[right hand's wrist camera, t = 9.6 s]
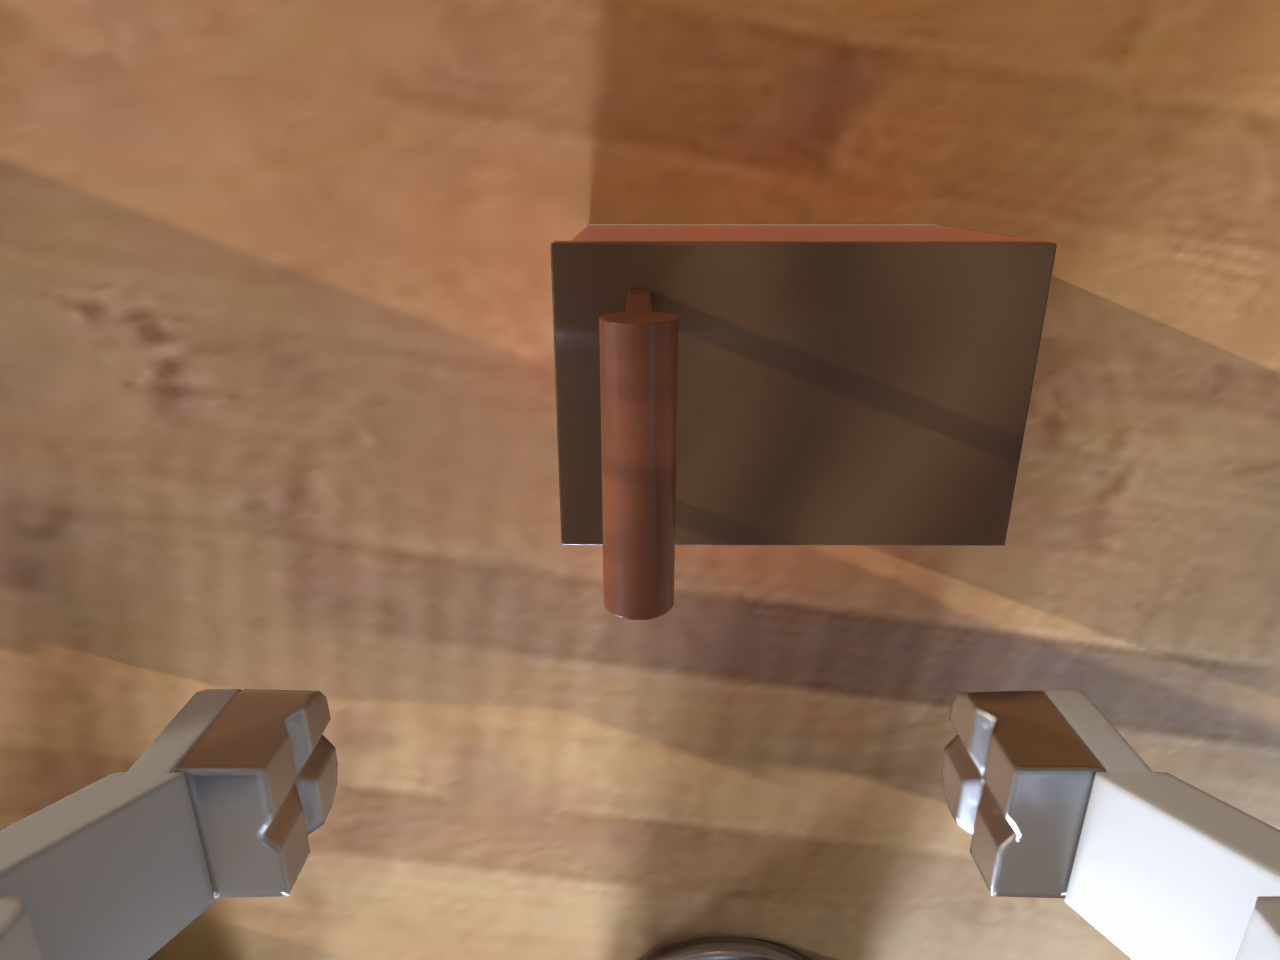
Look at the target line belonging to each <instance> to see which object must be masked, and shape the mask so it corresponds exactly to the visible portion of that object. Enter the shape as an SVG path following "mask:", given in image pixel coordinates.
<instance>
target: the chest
mask: <svg viewBox="0 0 1280 960" xmlns="http://www.w3.org/2000/svg"><path fill="white" fill-rule="evenodd" d="M571 241H1037V240H1031V239H1024V238H1018V237H1011V236H1005V235H999V234H992V233H986V232H979V231H973V230H966V229H960V228H953V227H947V226H941V225H937V224H588V226H587V227H586V228H585V229H584V230H583V231H581V232H580V233H579V234H578V235H577V236H576V237H574V238H573V239H572V240H571Z"/></svg>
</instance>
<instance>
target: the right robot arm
mask: <svg viewBox="0 0 1280 960" xmlns="http://www.w3.org/2000/svg"><path fill="white" fill-rule="evenodd" d="M330 719H331V718H330V713H329V708H328V703H327V698H326V696H324V695H323V694H322V693H321V692H320V691H298V690H251V689H245V690H240V689H206V690H203V691H200V692H197V693H195V694H194V696H193V697H192V698H191V699H190V700H189V701H188V702H187V704H186V705H185V706H184V707H183V708H182V709H181V710H180V712H179V713H178V714H177V715H176V716H175V717H174V718H173V720H172V721H171V722H170V723H169V724H168V725H167V726H166V728H165V729H164V730H163V731H162V732H161V733H160V734H159V736H158V737H157V738H156V739H155V740H154V741H153V742H152V744H151V745H150V746H149V747H148V748H147V749H146V750H145V752H144V753H143V754H142V755H141V756H140V757H139V758H138V760H137V761H136V762H135V763H134V764H133V765H132V766H131V768H130V769H129V770H128V771H127V772H113V773H112V774H110V775H108V776H106V777H104V778H102V779H100V780H98V781H96V782H94V783H92V784H90V785H88V786H86V787H84V788H82V789H80V790H78V791H76V792H74V793H72V794H70V795H68V796H67V797H65V798H63V799H61V800H59V801H57V802H55V803H53V804H51V805H49V806H47V807H45V808H43V809H41V810H39V811H37V812H35V813H33V814H31V815H29V816H27V817H25V818H24V819H22V820H20V821H18V822H16V823H14V824H12V825H10V826H8V827H6V828H4V829H2V830H0V960H148V959H149V958H150V957H152V956H153V955H154V954H155V953H156V952H157V951H159V950H160V949H161V948H162V947H163V946H164V945H166V944H167V943H168V942H169V941H170V940H172V939H173V938H174V937H175V936H176V935H177V934H179V933H180V932H181V931H182V930H183V929H184V928H186V927H187V926H188V925H189V924H190V923H192V922H193V921H194V920H195V919H196V918H197V917H199V916H200V915H201V914H202V913H203V912H204V911H206V910H207V909H208V908H209V907H210V906H211V905H213V904H214V903H215V898H238V897H272V896H288V895H289V893H290V891H291V889H292V887H293V885H294V883H295V881H296V879H297V877H298V875H299V873H300V871H301V869H302V867H303V865H304V863H305V861H306V859H307V857H308V855H309V853H310V847H309V842H308V836H307V835H309V834H310V833H312V832H313V831H314V830H316V829H317V828H319V827H320V826H321V825H323V824H324V822H325V820H326V818H327V816H328V814H329V812H330V809H331V807H332V805H333V800H334V796H335V791H336V787H337V776H338V763H337V756H336V749H335V747H334V746H333V745H332V744H331V743H330V742H329V741H328V740H327V739H326V738H325V737H324V736H323V735H322V734H323V732H324V730H325V728H326V726H327V725H328V723H329V721H330ZM949 719H950V721H951V723H952V725H953V726H954V728H955V730H956V732H957V734H958V735H957V736H956V737H955V738H954V739H953V740H952V741H951V742H950V743H949V744H948V745H947V746H946V747H945V749H944V757H943V766H942V775H943V786H944V793H945V797H946V800H947V804H948V807H949V810H950V812H951V814H952V816H953V818H954V820H955V822H956V824H957V825H959V826H960V827H961V828H963V829H964V830H966V831H967V832H968V833H970V834H971V835H973V836H972V842H971V847H970V853H971V855H972V857H973V859H974V861H975V863H976V865H977V867H978V869H979V871H980V873H981V875H982V877H983V879H984V881H985V883H986V885H987V887H988V889H989V891H990V893H991V895H992V896H1006V897H1041V898H1065V901H1064V902H1065V903H1067V904H1068V905H1069V906H1070V907H1071V908H1072V909H1074V910H1075V911H1076V912H1077V913H1078V914H1079V915H1081V916H1082V917H1083V918H1084V919H1085V920H1087V921H1088V922H1089V923H1090V924H1091V925H1092V926H1094V927H1095V928H1096V929H1097V930H1098V931H1099V932H1101V933H1102V934H1103V935H1104V936H1105V937H1106V938H1108V939H1109V940H1110V941H1111V942H1112V943H1113V944H1115V945H1116V946H1117V947H1118V948H1119V949H1121V950H1122V951H1123V952H1124V953H1125V954H1126V955H1128V956H1129V957H1130V958H1131V959H1132V960H1280V830H1278V829H1276V828H1274V827H1272V826H1270V825H1268V824H1266V823H1264V822H1262V821H1260V820H1258V819H1256V818H1254V817H1252V816H1250V815H1248V814H1247V813H1245V812H1243V811H1241V810H1239V809H1237V808H1235V807H1233V806H1231V805H1229V804H1227V803H1225V802H1223V801H1221V800H1219V799H1217V798H1215V797H1213V796H1211V795H1209V794H1208V793H1206V792H1204V791H1202V790H1200V789H1198V788H1196V787H1194V786H1192V785H1190V784H1188V783H1186V782H1184V781H1182V780H1180V779H1178V778H1176V777H1174V776H1172V775H1170V774H1169V773H1167V772H1153V771H1152V770H1151V769H1150V768H1149V766H1148V765H1147V764H1146V763H1145V762H1144V761H1143V760H1142V758H1141V757H1140V756H1139V755H1138V754H1137V753H1136V752H1135V750H1134V749H1133V748H1132V747H1131V746H1130V745H1129V744H1128V742H1127V741H1126V740H1125V739H1124V738H1123V737H1122V736H1121V734H1120V733H1119V732H1118V731H1117V730H1116V729H1115V728H1114V726H1113V725H1112V724H1111V723H1110V722H1109V721H1108V720H1107V718H1106V717H1105V716H1104V715H1103V714H1102V713H1101V712H1100V710H1099V709H1098V708H1097V707H1096V706H1095V705H1094V704H1093V702H1092V701H1091V700H1090V699H1089V698H1088V697H1087V696H1086V694H1084V693H1083V692H1081V691H1079V690H1077V689H1050V690H1035V691H990V692H957V694H956V696H955V698H954V700H953V702H952V706H951V712H950V718H949Z"/></svg>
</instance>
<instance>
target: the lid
mask: <svg viewBox="0 0 1280 960" xmlns="http://www.w3.org/2000/svg"><path fill="white" fill-rule="evenodd" d="M1056 246H1057V245H1056V244H1055V243H1050V242H1043V241H554V242H553V243H551V271H552V298H553V325H554V353H555V380H556V407H557V434H558V461H559V489H560V516H561V543H562V545H603V572H604V605H605V607H606V609H607V610H608V611H609V612H610V613H612V614H614V615H616V616H618V617H621V618H625V619H631V620H646V619H653V618H657V617H660V616H662V615H664V614H666V613H667V612H669V611H670V610H671V608H672V606H673V604H674V558H675V545H1005V540H1006V534H1007V528H1008V523H1009V517H1010V511H1011V505H1012V499H1013V494H1014V488H1015V482H1016V476H1017V471H1018V465H1019V459H1020V453H1021V448H1022V442H1023V436H1024V430H1025V425H1026V419H1027V413H1028V407H1029V402H1030V396H1031V390H1032V384H1033V378H1034V373H1035V367H1036V361H1037V355H1038V350H1039V344H1040V338H1041V332H1042V327H1043V321H1044V315H1045V309H1046V304H1047V298H1048V292H1049V286H1050V281H1051V275H1052V269H1053V263H1054V258H1055V252H1056Z"/></svg>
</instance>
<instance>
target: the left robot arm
mask: <svg viewBox="0 0 1280 960" xmlns="http://www.w3.org/2000/svg"><path fill="white" fill-rule="evenodd" d="M642 960H806V959H805V958H803V957H802V956H800V955H798V954H796V953H794V952H792V951H790V950H788V949H786V948H783V947H780V946H778V945H775V944H771V943H768V942H764V941H759V940H754V939H747V938H738V937H713V938H703V939H697V940H691V941H687V942H683V943H679V944H675V945H672V946H670V947H667V948H664V949H662V950H659V951H657V952H655V953H653V954H651V955H649V956H647V957H645V958H644V959H642Z"/></svg>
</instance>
